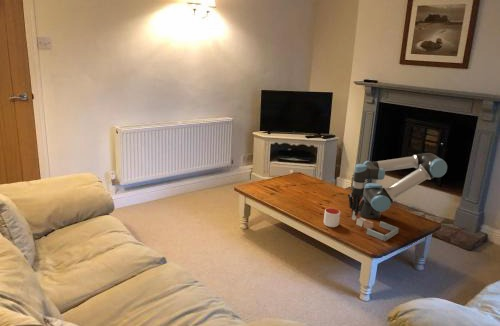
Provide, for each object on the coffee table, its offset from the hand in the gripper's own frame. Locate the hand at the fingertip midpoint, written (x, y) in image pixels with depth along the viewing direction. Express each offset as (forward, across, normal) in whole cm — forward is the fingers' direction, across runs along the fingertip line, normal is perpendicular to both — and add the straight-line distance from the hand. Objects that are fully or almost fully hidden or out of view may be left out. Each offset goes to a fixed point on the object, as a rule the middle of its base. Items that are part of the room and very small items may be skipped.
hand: (353, 219), depth 281 cm
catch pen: (+2, +22, 0) cm, 22 cm away
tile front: (+2, +11, 0) cm, 11 cm away
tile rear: (+2, +6, 0) cm, 6 cm away
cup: (+2, -7, -16) cm, 18 cm away
